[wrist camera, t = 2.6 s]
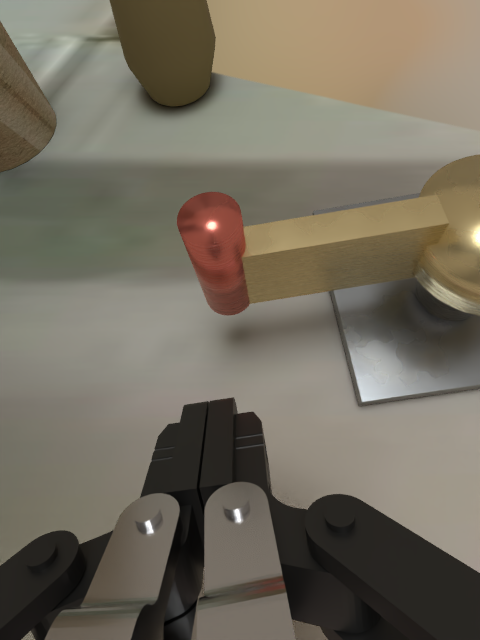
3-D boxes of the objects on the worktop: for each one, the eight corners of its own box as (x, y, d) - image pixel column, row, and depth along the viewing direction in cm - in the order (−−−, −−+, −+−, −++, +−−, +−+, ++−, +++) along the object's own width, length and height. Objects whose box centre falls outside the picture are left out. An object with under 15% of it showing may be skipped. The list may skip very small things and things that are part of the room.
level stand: (358, 406, 24) (391, 363, 17) (312, 221, 30) (321, 129, 22) (615, 368, 23) (769, 307, 16) (516, 187, 29) (595, 81, 22)
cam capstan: (213, 366, 20) (183, 311, 14) (200, 238, 24) (171, 151, 18) (592, 308, 19) (726, 224, 14) (523, 184, 23) (606, 74, 17)
